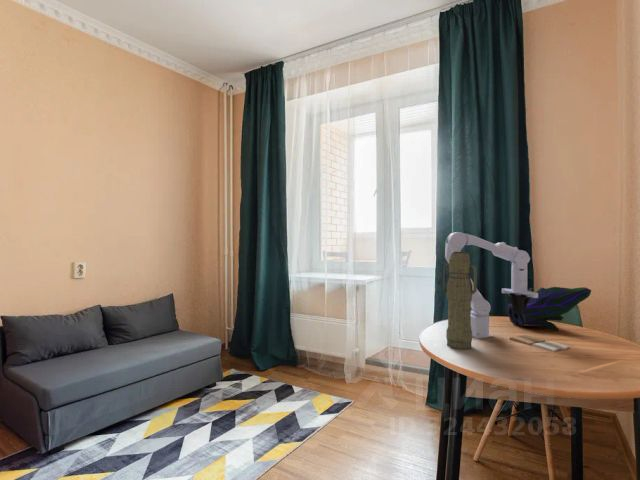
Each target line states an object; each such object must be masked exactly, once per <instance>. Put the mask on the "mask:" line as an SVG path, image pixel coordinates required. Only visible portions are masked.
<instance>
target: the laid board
mask: <svg viewBox="0 0 640 480" xmlns="http://www.w3.org/2000/svg"><path fill="white" fill-rule="evenodd" d="M530 346H531V347H534V348H538V349H541V350H544V351H545V350H546V351H548V352H553V353H555V352H558V351H562V350H566V349H567V350H568V349H570V348H571V346H570V345H567V344H562V343H559V342H555V341H554V342H553V341H550V340H546V341H543V342H538V343H533V344H531V345H530Z"/></svg>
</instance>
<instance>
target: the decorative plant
mask: <svg viewBox="0 0 640 480" xmlns="http://www.w3.org/2000/svg"><path fill="white" fill-rule="evenodd" d="M533 289H534V288H532V287H530V288H529V289H527V291H531V292H533ZM535 292H536V293H538V298H533V297H531V299H530V300H529V302H528V304H527V306H526V309H525V312H524V314H519V313H514V311H513V307H512V304H511V302H510V303H508V304H506V309H505V311H506V312H505V313H506V314H507V315H508V317H509V321H510V322H511V323H512V325H513V326H518V327H523V326H542V327H545V328H549V329H552V330H553V331H559V329H560V327H557V326H556V324H555V323H553V322H552V321H558V322H560V321H561V322H562V321H563V319H564V318H565V317H564V316H563V315H564V314H567V313H569V312H570V311H571V310H573V309H574V308H575V307H576V306H577V305H578V304H580V303H582V302H584V301H585V300H586V299H588V298H589V297H590V296H591V293H592V290H591V289H590V288H588V287H585V286H584V287H575V288H569V287H568V288H567V287H560V286H552V287H548V288H545V287H540V288H538V290H536V291H535Z"/></svg>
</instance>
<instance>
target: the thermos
mask: <svg viewBox="0 0 640 480" xmlns="http://www.w3.org/2000/svg"><path fill="white" fill-rule="evenodd" d="M447 267H448V273H449V274H448V281H447V282H446V268H447ZM471 268H472V270H473V283H474V291H473V290H472V283H471V280H470V278H471V271H472V270H471ZM477 277H478V269H477V267H476V266H475V265H473V264H471V257H470V254H469V252H466V251H460V252H453V253H451V255H450V258H449V263H445V264H444V265H443V267H442V291H443V292H445V293H446V299H447V301H448V302H447V304H448V305H447V328H446V331H445V332H446V347H448V346H449V347H448V348H450V347H451V349H454V350H460V349H462V351H463V350H464V351H465V350H466V349H467V350H471V349H472V347H473V346H472V341H473V337H472V330H471V310H472V309H471V301H472V294H474V293H475V292H476V288H477V282H478V281H477V279H478V278H477ZM471 279H472V278H471ZM446 283H447V284H446Z"/></svg>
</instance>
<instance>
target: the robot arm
mask: <svg viewBox="0 0 640 480" xmlns="http://www.w3.org/2000/svg"><path fill="white" fill-rule="evenodd" d="M471 245H472V246H474V247H475V246H476V247H478V248H482V249H485V250H487V251H491V253H492V255H493V256H494V257H498V258H499V259H503V260H505V261H508V262H511V270H510V271H511V276H510V277H511V279H510V282H511V284H510V285H511V287H510V288H505V287H504V288H501V294H508V295H507V298H508V300H509V302H510V303H511V304H512V307H513V311H514V313H519V314H524V312H525V309H526V306H527V304H528V302H529V300H530V299H531V297H533V298H538V293H536V292H537V291H535V292H534V291H532V292H531V291H528V263H530V260H531V257H530V255H529V253H528V251H526V250H522V249H518V247H517V246H514V247H513V246H511V245H508V244H507V243H506V242H504V241H501V242H497V243H493V242H490V241H488V240H485V239H483V238H480V237H479V236H475V235H473V234H469V233H464V232H461V231H456V232H451V233H450V234H449V235H448V236H447V238H446V240H445V252H444V259H445V260H446V261H447V264H449V258H450V255H451V253H453V252H462V249H463V248H464V247H465V246H471ZM470 280H471V283H472V290H473V291H474V280H472V278H470ZM491 307H492V306H491V304H490V303H489V301H488V300H486V299H485V298H484V297H483V295H482V294H481V293H480V291H479V290H478V288H477V287H476V292H475V293H474V294H472V301H471V330H472V338H474V339H475V338H476V339H484V338H490V337H494V334H491V333H490V312H491V309H492V308H491Z"/></svg>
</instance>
